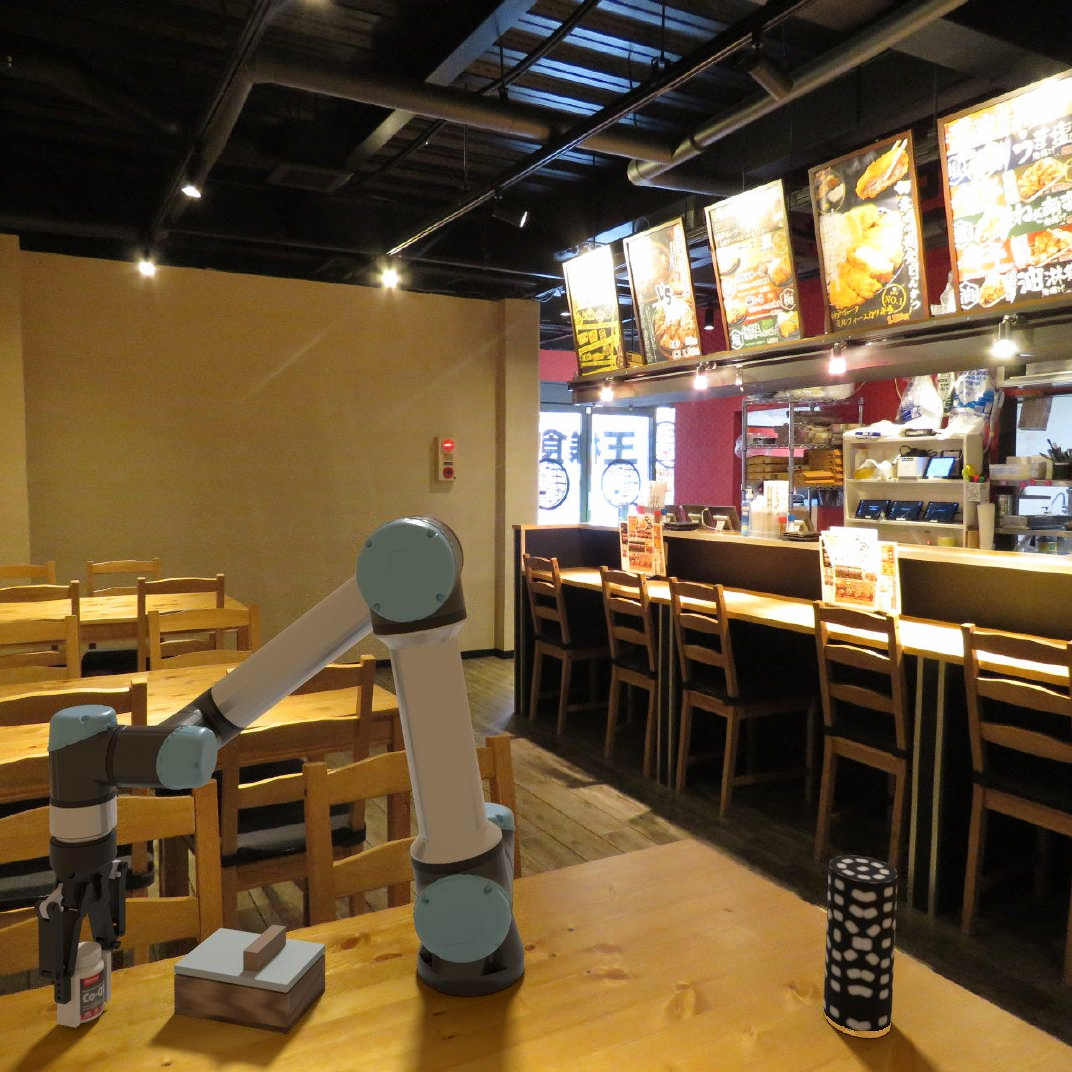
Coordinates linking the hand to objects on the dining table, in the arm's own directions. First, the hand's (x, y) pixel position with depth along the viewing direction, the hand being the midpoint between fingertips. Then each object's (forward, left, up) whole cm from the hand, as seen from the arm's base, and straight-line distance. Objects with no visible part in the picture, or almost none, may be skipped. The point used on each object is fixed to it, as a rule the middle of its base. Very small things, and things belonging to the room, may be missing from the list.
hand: (84, 1011), depth 113 cm
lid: (-18, -9, +4) cm, 21 cm away
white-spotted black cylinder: (-95, -27, -1) cm, 99 cm away
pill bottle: (0, 0, -1) cm, 1 cm away
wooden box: (-18, -9, -1) cm, 20 cm away
